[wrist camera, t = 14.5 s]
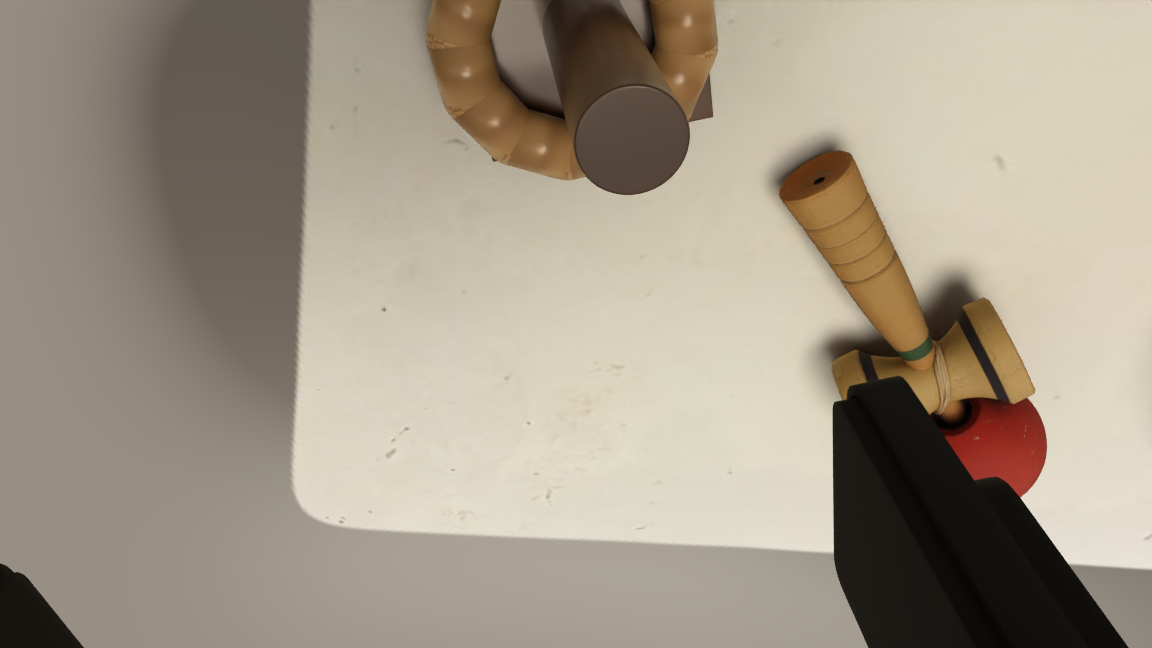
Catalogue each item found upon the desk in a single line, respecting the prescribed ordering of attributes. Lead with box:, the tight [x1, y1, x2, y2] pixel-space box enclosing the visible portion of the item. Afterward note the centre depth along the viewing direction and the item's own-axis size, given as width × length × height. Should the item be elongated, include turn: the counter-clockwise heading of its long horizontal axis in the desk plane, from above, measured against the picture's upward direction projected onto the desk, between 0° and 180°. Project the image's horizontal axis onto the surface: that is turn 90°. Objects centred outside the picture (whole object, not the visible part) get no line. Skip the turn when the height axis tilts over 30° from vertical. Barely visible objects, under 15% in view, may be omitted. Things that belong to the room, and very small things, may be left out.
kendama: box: [779, 151, 1047, 497], centre depth 37 cm, size 8×6×18 cm
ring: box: [425, 0, 718, 180], centre depth 29 cm, size 9×9×2 cm
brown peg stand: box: [490, 0, 713, 195], centre depth 26 cm, size 8×8×11 cm
